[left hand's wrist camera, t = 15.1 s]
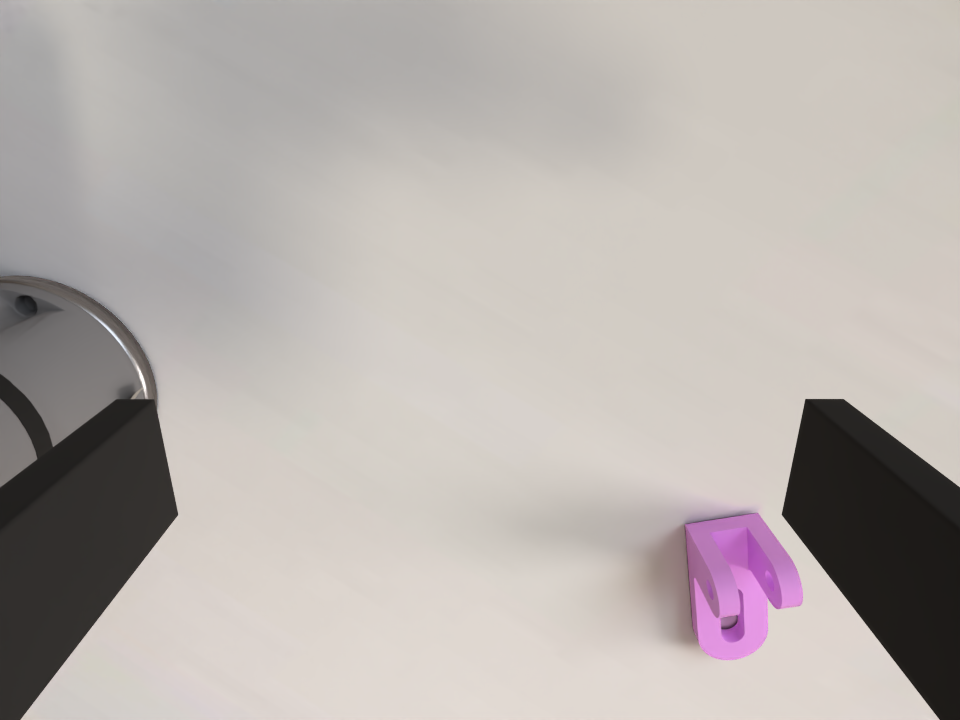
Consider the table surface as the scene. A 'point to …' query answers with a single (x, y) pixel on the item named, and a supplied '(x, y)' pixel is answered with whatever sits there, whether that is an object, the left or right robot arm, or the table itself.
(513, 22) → the table surface
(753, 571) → the bracket
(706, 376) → the table surface
